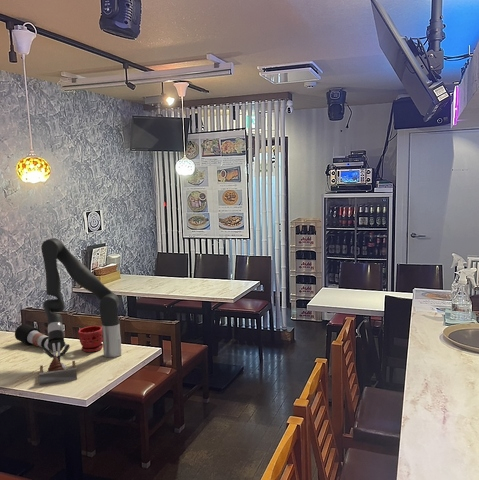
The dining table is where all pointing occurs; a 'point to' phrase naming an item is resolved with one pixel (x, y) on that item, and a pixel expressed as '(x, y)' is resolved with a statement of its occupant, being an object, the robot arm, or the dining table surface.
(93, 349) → the plant pot
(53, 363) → the poop emoji
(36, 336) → the cable
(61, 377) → the guide channel
